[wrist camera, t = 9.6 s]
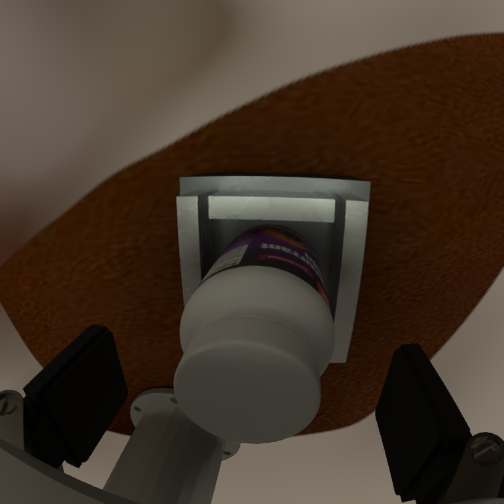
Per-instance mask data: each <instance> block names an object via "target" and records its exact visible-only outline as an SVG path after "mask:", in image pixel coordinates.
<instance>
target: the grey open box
mask: <svg viewBox="0 0 504 504" xmlns="http://www.w3.org/2000/svg"><path fill="white" fill-rule="evenodd" d="M369 197H370V182H369V181H366V180H362V179H358V178H355V177H351V176H337V175H320V174H297V173H253V172H228V173H201V174H195V175H190V176H184V177H180V196H177V218H178V236H179V251H180V265H181V277H182V288H183V299H184V308H185V307H186V305H187V303H188V301H189V299H190V298H191V296H192V294H193V293H194V291H195V290H196V289H197V287H198V286H199V284H200V283H201V282H202V280H203V279H204V277H205V276H206V275H207V273H208V272H209V270H210V269H211V268H212V266H213V265H214V263H215V262H216V261H217V259H218V258H219V257H220V255H221V254H222V253H223V251H224V250H225V248H226V247H227V246H228V245H229V244H230V243H231V241H232V240H233V239H234V238H236V237H237V236H238V235H239V234H241V233H243V232H244V231H246V230H248V229H251V228H254V227H258V226H267V225H269V226H279V227H283V228H286V229H289V230H291V231H293V232H295V233H296V234H298V235H299V236H301V237H302V238H303V239H304V240H305V241H306V242H307V243H308V244H309V245H310V247H311V248H312V250H313V251H314V253H315V255H316V257H317V260H318V262H319V265H320V269H321V273H322V277H323V281H324V285H325V290H326V294H327V298H328V302H329V306H330V310H331V314H332V318H333V323H334V332H335V343H334V349H333V354H332V357H331V360H330V362H329V363H346V358H347V353H348V349H349V347H350V342H351V337H352V332H353V327H354V321H355V316H356V310H357V304H358V297H359V291H360V284H361V277H362V269H363V262H364V253H365V244H366V234H367V224H368V211H369Z"/></svg>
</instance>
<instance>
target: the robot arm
mask: <svg viewBox="0 0 504 504" xmlns="http://www.w3.org/2000/svg"><path fill="white" fill-rule="evenodd" d="M23 390H24V392H25V394H26V396H25V398H23V397H22V395H21V394H20V393H19V392H17V391H14V390H4V391H1V392H0V504H211V501H212V497H213V492H214V489H215V484H216V481H217V477H218V472H219V469H220V465H221V461H222V460H226V459H228V458H230V457H231V456H233V455H234V454H235V453H236V452H237V451H238V449H239V447H240V443H241V442H235V441H231V440H227V439H224V438H221V437H219V436H216V435H214V434H212V433H210V432H208V431H206V430H204V429H203V428H201V427H200V426H198V425H197V424H196V423H194V422H193V421H192V420H191V419H190V418H189V417H188V416H187V415H186V414H185V412H184V411H183V410H182V408H181V407H180V405H179V403H178V401H177V398H176V396H175V392H174V389H172V388H153V389H149V390H146V391H144V392H142V393H140V394H139V395H138V396H137V397H136V398H135V400H134V401H133V403H132V405H131V409H130V415H131V419H132V422H133V424H134V426H135V430H134V432H133V434H132V435H131V437H130V439H129V441H128V443H127V445H126V446H125V448H124V450H123V452H122V454H121V456H120V458H119V460H118V461H117V463H116V466H115V467H114V469H113V471H112V473H111V475H110V477H109V478H108V480H107V482H106V484H105V486H104V488H103V490H102V489H99V488H97V487H94V486H92V485H90V484H87V483H85V482H83V481H80V480H78V479H76V478H74V477H72V476H70V475H67V474H65V473H64V471H63V466H62V463H63V462H64V460H65V461H66V462H67V463H69V464H71V465H73V466H75V467H77V468H79V467H80V466H81V464H82V462H86V461H87V460H88V459H89V457H90V455H91V454H92V452H93V451H94V449H95V447H96V446H97V444H98V443H99V441H100V439H101V438H102V436H103V435H104V433H105V432H106V430H107V428H108V427H109V425H110V424H111V422H112V421H113V419H114V417H115V416H116V414H117V413H118V411H119V410H120V408H121V406H122V405H123V403H124V402H125V400H126V399H127V396H128V389H127V386H126V383H125V379H124V376H123V372H122V369H121V365H120V361H119V357H118V353H117V350H116V345H115V341H114V337H113V334H112V333H111V332H110V331H109V329H108V328H107V327H104V326H99V325H90V326H89V327H88V328H87V329H86V330H85V331H84V332H82V333H81V334H80V335H79V336H78V337H77V338H76V339H75V340H74V341H73V342H71V343H70V344H69V345H68V346H67V347H66V348H65V349H64V350H63V351H62V352H61V353H60V354H59V355H57V356H56V357H55V358H54V359H53V360H52V361H51V362H50V363H49V364H48V365H47V366H46V367H45V368H44V369H43V370H42V371H41V372H39V374H37V375H36V376H35V377H34V378H33V379H32V380H31V381H30V382H29V383H28V384H27V385H26V386H25V387H24V388H23ZM375 416H376V421H377V424H378V428H379V431H380V435H381V438H382V442H383V446H384V450H385V454H386V457H387V462H388V466H389V470H390V474H391V478H392V482H393V486H394V491H395V493H396V495H400V496H401V501H402V502H407V501H411V500H416V504H504V441H503V440H502V439H501V438H500V437H499V436H497V435H495V434H493V433H488V432H482V433H478V434H476V435H474V436H472V434H471V433H470V428H469V426H468V425H467V423H466V421H465V419H464V417H463V416H462V414H461V412H460V410H459V409H458V407H457V405H456V403H455V402H454V400H453V398H452V396H451V395H450V393H449V391H448V390H447V388H446V386H445V385H444V383H443V381H442V380H441V378H440V377H439V375H438V373H437V372H436V370H435V368H434V367H433V365H432V364H431V362H430V360H429V359H428V357H427V356H426V354H425V353H424V351H423V350H422V348H421V347H420V345H419V344H417V343H416V344H402V345H401V346H400V347H399V349H396V350H395V351H394V354H393V357H392V361H391V364H390V368H389V371H388V374H387V377H386V381H385V384H384V387H383V390H382V393H381V396H380V399H379V401H378V404H377V407H376V411H375Z"/></svg>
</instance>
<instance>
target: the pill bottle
mask: <svg viewBox="0 0 504 504" xmlns="http://www.w3.org/2000/svg"><path fill="white" fill-rule="evenodd" d="M180 341H181V346H182V350H183V352H184V355H183V357H182V359H181V361H180V363H179V365H178V367H177V370H176V373H175V377H174V392H175V396H176V398H177V401H178V403H179V405H180V407H181V408H182V410H183V411H184V412H185V414H186V415H187V416H188V417H189V418H190V419H191V420H192V421H193V422H194V423H196V424H197V425H198V426H200V427H201V428H203V429H204V430H206V431H208V432H210V433H212V434H214V435H216V436H219V437H221V438H224V439H227V440H231V441H235V442H241V443H255V444H259V443H270V442H275V441H279V440H283V439H286V438H288V437H291V436H293V435H295V434H297V433H298V432H300V431H301V430H303V429H304V428H305V427H307V426H308V425H309V424H310V423H311V421H312V420H313V419H314V417H315V416H316V414H317V412H318V410H319V406H320V402H321V387H320V376H321V375H322V374H323V373H324V371H325V369H326V368H327V366H328V364H329V362H330V360H331V357H332V354H333V349H334V343H335V332H334V323H333V318H332V314H331V310H330V306H329V302H328V298H327V294H326V290H325V285H324V281H323V277H322V273H321V269H320V265H319V262H318V260H317V257H316V255H315V253H314V251H313V250H312V248H311V247H310V245H309V244H308V243H307V242H306V241H305V240H304V239H303V238H302V237H301V236H299V235H298V234H296V233H295V232H293V231H291V230H289V229H286V228H283V227H279V226H269V225H267V226H258V227H254V228H251V229H248V230H246V231H244V232H243V233H241V234H239V235H238V236H237V237H236V238H234V239H233V240H232V241H231V243H230V244H229V245H228V246H227V247H226V248H225V250H224V251H223V253H222V254H221V255H220V257H219V258H218V259H217V261H216V262H215V263H214V265H213V266H212V268H211V269H210V270H209V272H208V273H207V275H206V276H205V277H204V279H203V280H202V282H201V283H200V284H199V286H198V287H197V289H196V290H195V291H194V293H193V294H192V296H191V298H190V299H189V301H188V303H187V305H186V307H185V309H184V311H183V315H182V318H181V323H180Z"/></svg>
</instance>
